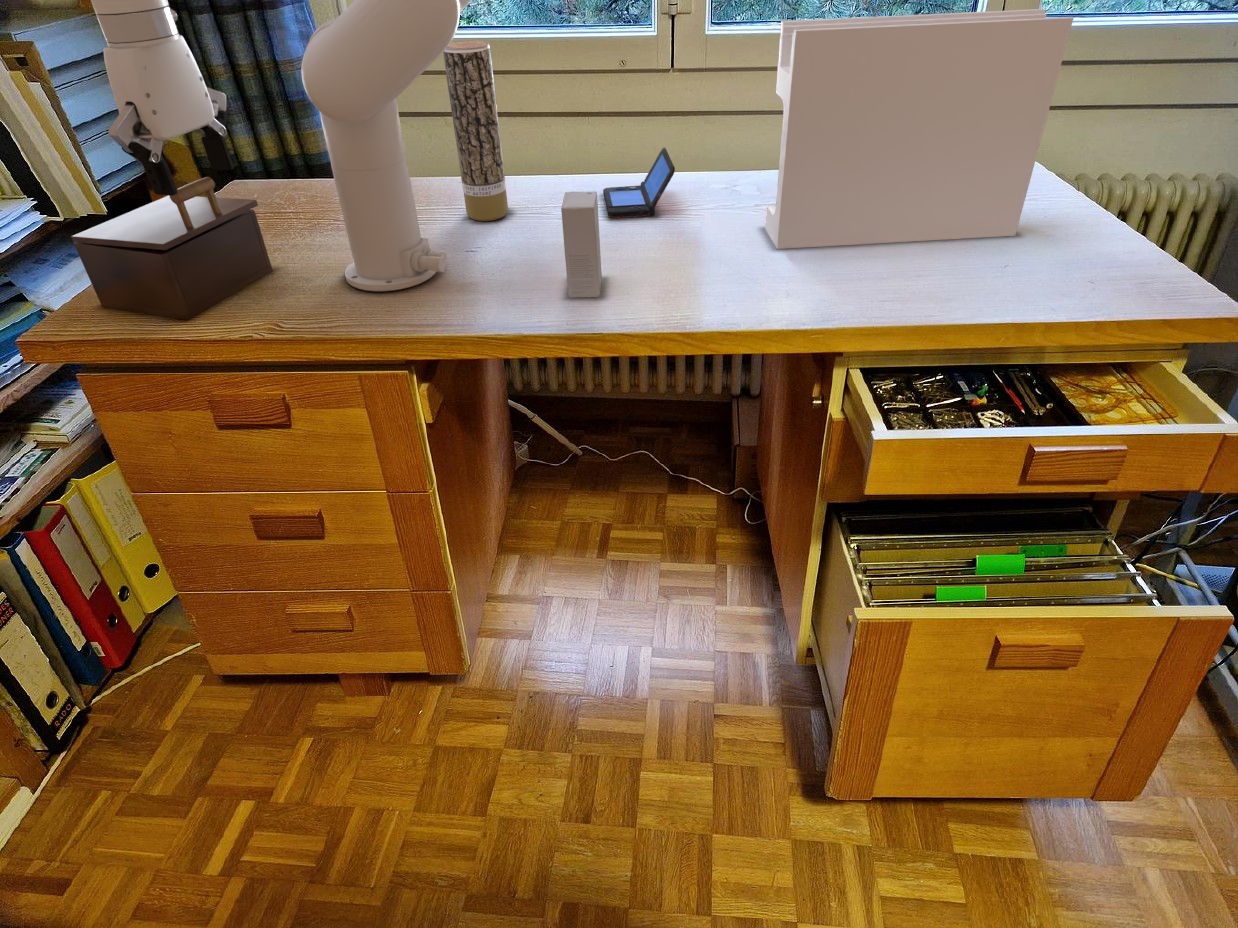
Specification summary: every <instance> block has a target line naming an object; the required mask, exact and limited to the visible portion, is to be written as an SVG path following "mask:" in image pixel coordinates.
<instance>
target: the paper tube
mask: <svg viewBox="0 0 1238 928" xmlns="http://www.w3.org/2000/svg"><path fill="white" fill-rule="evenodd" d="M442 56H443V63H444V70H445V74H446V83H447V89H448V96H449V97H448V98H449V103H450V110H451V117H452V123H453V131H454V137H455V143H456V145H455V146H456V151H457V158H458V165H459V172H460V179H461V185H462V190H463V198H464V205H465V211H466V215H467V216H468V218H470V219H471V220H474V221H480V222H490V221H495V220H499V219H501V218H504V217H505V216H507V214H508V212H509V204H508V203H509V202H508V195H507V193H508V192H507V185H506V176H505V175H506V174H505V166H504V159H503V158H504V157H503V150H502V139H501V132H500V131H501V130H500V123H499V115H498V107H497V106H498V105H497V97H496V96H497V95H496V89H495V81H494V79H495V78H494V72H493V71H494V70H493V63H492V54H491V46H490V42H489V41H485V40H459V41H451V43H450V44H449V45H448V47H447V48H446V49H445V51H444V52H443V53H442Z"/></svg>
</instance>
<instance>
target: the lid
mask: <svg viewBox="0 0 1238 928" xmlns="http://www.w3.org/2000/svg"><path fill="white" fill-rule="evenodd" d="M215 187H216V183H215V181H214V180H213V178H211V177H210V176H205V177H202V178H200V179H198V180H197V179H196V180H195V181H192V182H190V183H188V184H185V185H183V186H181V187H179V188H177V194H176V195H173V196H170V195H165V196H164V197H161V198H159V199H157V200H155V201H152V202H149V203H148V204H145V205H143V206H142V205H141V206H140V207H138V208H135V209H132V210H131V211H129V212H125V213H123V214H121V215H118V216H116V217H114V218H111V219H109V220H107V221H105V222H102V223H99V224H97V225H95V226H92V227H90V228H88V229H86V230H83V231H81V232H78V233H75V234H74V235H71V236H70V239H71V240H72V242H73V243H75V242H76V243H87V244H99V245H110V246H122V247H133V248H145V249H157V250H167V249H169V248H171V247H173V246H176V245H178V244H180V243H182V242H184V241H186V240H188V239H190V238H192V237H194V236H196V235H198V234H200V233H202V232H204V231H207V230H209V229H211V228H213V227H215V226H217V225H219V224H221V223H223V222H225V221H227V220H229V219H231V218H233V217H235V216H237V215H240V214H242V213H244V212H246V211H248V210H253V209H254V208H256V207H258V206H259V204H258V201H257V199H246V198H232V197H231V198H229V197H216V194H215V191H214V189H215ZM203 194H206V196H200V195H203Z"/></svg>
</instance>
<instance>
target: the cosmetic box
mask: <svg viewBox="0 0 1238 928" xmlns="http://www.w3.org/2000/svg"><path fill="white" fill-rule="evenodd" d="M561 204H562V205H561V223H562V234H563V236H562V237H563V247H564V258H565V272H566V282H567V295H568V298H571V299H572V298H573V299H575V298H599V297H600V296H601V289H602V278H603V274H602V257H601V240H600V239H601V238H600V223H599V203H598V192H597V191H596V190H595V191H565V192H564V195H563V199H562V203H561Z"/></svg>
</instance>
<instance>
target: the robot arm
mask: <svg viewBox="0 0 1238 928" xmlns="http://www.w3.org/2000/svg"><path fill="white" fill-rule="evenodd" d="M472 1H473V0H353V1H352V3H350V4H349V6H348V7H346V8H345V9H344V10H343V11H342V13H340V14H339V16H338V17H336V18H333V19H329V20H326V21H325V22H323V23H322V24H321V25H319V26H318V27H317V28H316V29H315V30H314V32H313V33H312V35H311V36H310V38H309V40H308V42H307V44H306V47H305V51H304V53H303V56H302V60H301V69H300V73H301V81H302V85H303V88H304V91H305V93H306V95H307V97H308V99H309V101H310V102H311V104H312V105H313V106H314V107H315V108H316V110H318V112H319V116H320V117H319V118H320V122H321V127H322V131H323V136H324V139H325V144H326V149H327V154H328V157H329V158H328V159H329V161H330V167H331V171H332V176H333V180H334V183H335V188H336V193H337V197H338V201H339V204H340V210H341V213H342V217H343V222H344V226H345V230H346V234H347V239H348V243H349V247H350V251H351V255H352V259H353V261H352V262H350V263H349V264H348V265H347V266H346V268H345V270H344V276H345V279H346V282H347V284H348V285H350V286H352V288H353V287H354V288H355V289H359V290H362V291H369V292H390V291H391V292H392V291H398V290H403V289H408V288H412V287H415V286H418V285H420V284H422V283H425V282H426V281H428V280H430V279H431V278H433V276H434V275H436V273H437V272H439V273H443V272H445V270H446V268H447V257H448V256H447V253H446V252H445V251H441V250H432V249H431V248H430V247H431V246H430V242H429V238H427V237H426V238H424V237H422V236H421V230H420V224H419V219H418V214H417V213H418V212H417V209H416V208H417V207H416V202H415V198H414V192H413V187H412V181H411V175H410V170H409V166H408V165H409V163H408V159H407V152H406V146H405V141H404V136H403V130H402V124H401V119H400V114H399V113H400V112H399V107H398V106H399V105H398V100H397V97H399V96H400V95H401V94H402V93H403V92H404V91H405V90H406V89H408V87H409V86H410V85H411V84H413V83H414V82H415V81H416V80H417V79H418V78H419V77H420V76H421V75H422V74H423V73H424V72H425V71H426V70H427V69H429V68H430V66H431V65H433V63H434V62H436V60H437V59H439V58H440V56H441V55H443V52H444V51H445V49H446V48H447V47H448V45H449V44H450V43H452V42H453V40H454V38H455V36H456V33H457V31H458V27H459V23H460V14H462V12H463V11H464V10H465V9H466V8H467V6H468V5H470V4H471V3H472ZM90 3H91V5H92V8H93V10H94V13H95V15H96V18H97V21H98V23H99V26H100V28H101V31H102V33H103V36H104V38H105V41H106V43H107V46H106V47H104V48H102V52H103V59H104V64H105V70H106V74H107V78H108V81H109V85H110V89H111V92H112V95H113V98H114V102H115V105H116V107H117V111H118V115H117V117H116V118H115V120H114V121H113V123H112V124H111V125H110V127H109V128H108V135H109V136H110V137H111V138H112V140H114V141H115V143H116V144H117V145H118V146H120V147H121V150H122V152H124V153H125V154H127V155H129V156H131V157H132V158H133V159H134V160H135V161H136V162H137V163H141V164H142V167H143V170H144V172H145V175H146V177H147V180H148V182H149V184H150V187H151V189H152V191H153V193H154V194H155V195H157V196H158V195H159V196H169V195H170V196H173V195H176V194H177V189H178V188H177V186H176V184H175V181H174V178H173V176H172V172H171V170H170V167H169V165H168V163H167V161H166V160H165V159H162V160H161V156H162V152H163V151H162V150H163V146H164V142H165V141H168V140H169V141H170V140H171V139H175V138H177V137H179V136H183V135H185V134H188V133H191V132H193V131H196V130H199V132H201V133H202V134H203V135H204V136H201V142H202V145H203V148H204V151H205V154H206V156H207V157H206V158H207V160H208V162H209V165H210V167H211V169H213V170H219V171H232V170H234V168H235V166H234V163H233V159H232V157H231V154H230V151H229V148H228V145H227V142H226V139H225V137H226V135H227V133H228V132H227V128H226V125H227V120H228V113H227V95H226V94H225V93H224V92H222V91H219V90H216V89H213V88H211V87H208V86H207V85H206V83H205V80H204V77H203V74H202V72H201V71H200V69H199V65H198V64H197V61H196V59H195V57H194V55H193V53H192V50H191V49H190V47H189V46H188V44H187V41H186V40H185V38H184V36H183V35H181V34H180V33H179V30H178V28H177V27H178V26H177V24H176V22H177V21H178V15H177V12H176V11H175V10H174V9H172V8H171V7H170V3H169V1H168V0H90Z"/></svg>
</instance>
